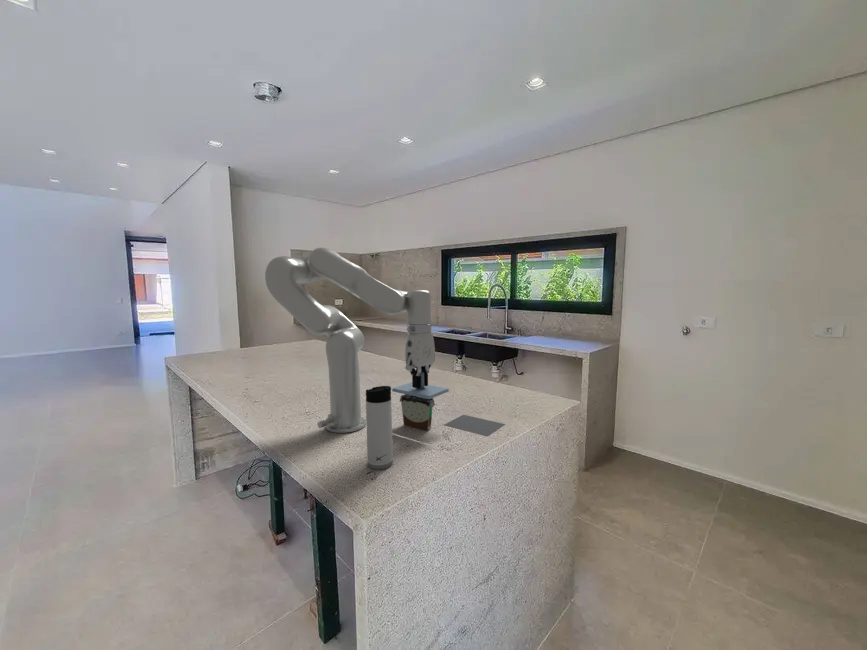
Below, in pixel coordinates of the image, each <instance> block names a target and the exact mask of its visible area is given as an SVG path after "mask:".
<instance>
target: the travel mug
mask: <svg viewBox="0 0 867 650" xmlns="http://www.w3.org/2000/svg"><path fill="white" fill-rule="evenodd" d="M391 395H392V387H391V386H389V385H380V386H379V385H378V386H374V387H372V388H370V389H366V390H365V416H366V417H365V418H366V419H365V420H366V448H367V449H366V450H367V453H366V454H367V455H366V456H367V466H368V467H369V468H370V469H373V470H377V471H379V470H380V469H381V470H385V468H386V469H388V468H390V467H391V466H392V465H393V464H394V463H393V461H394V460H393V459H394V457H393V456H394V455H393V454H394V453H393V451H394V450H393V416H392V411H393V410H392V408H393V407H392V396H391ZM381 470H380V471H381Z"/></svg>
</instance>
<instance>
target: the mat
mask: <svg viewBox="0 0 867 650" xmlns="http://www.w3.org/2000/svg"><path fill="white" fill-rule="evenodd" d="M505 425H506V423H502V422H498V421H493V420H489V419H485V418H480V417H476V416H471V415H467V414H461V415H460V416H458V417H456V418H454V419H453V420H450V421H448V422H447V423H444V424H443V426H446V427H450V428H453V429H458V430H459V431H460V430H461V431H465V432H469V433H473V434H475V435H476V434H477V435H480V436H484V437H490V436H491V435H493V434H494V433H495V432H496V431H498V430H500V429H501V428H502V427H504V426H505Z"/></svg>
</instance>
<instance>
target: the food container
mask: <svg viewBox="0 0 867 650" xmlns="http://www.w3.org/2000/svg"><path fill="white" fill-rule="evenodd" d="M399 402H400V403H401V411H402V421H403V426H407V427H410V428H415V429H419V430H424V431H427V432H428V431H430V430H431V429H432V421H433V419H432V418H433V408H434V407H435V405H436V404H435V399H434V398H431V399H426V398H421V397H416V396H412V395H407V394H402V395H400V398H399Z"/></svg>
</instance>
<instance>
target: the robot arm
mask: <svg viewBox="0 0 867 650" xmlns="http://www.w3.org/2000/svg"><path fill="white" fill-rule="evenodd" d="M264 278H265V284H266V288H267V290H268V292H269V293H270V295H271V296H272V297H273V298H274V300H275V301H276V302H277V303H278V304H279V305H281V306H282V308H284V309H285V310H286V312H288V313H289V314H290V316H292V317H293V318H294V319H295V320H296V321H297V322H298V323H300V325H301V326H303V328H305V329H306V331H308V332H309V333H310V334H312V335H314V336H323V335H325V336H326V337H327V340H326V343H325V355H326V358H327V366H328V380H329V406H330V414H327V417H326V418H325V420H323V419H322V420H321V421H318V422H317V427H318V428H319V429H321V428H326V430H327V431H328V432H332V433H336V434H345V433H351V432H352V433H353V432H356V431H359V430H361V429H363V428H364V427H366V426H367V422H366V419H365V418H364V417H362V408H361V382H360V381H361V378H360V364H359V359H358V358H359V357H358V353H360V351H361V350H362V349H363V348H364V345H365V336H364V334H363V332H362V330H360V329H359V327H357V326H356V325H355V324H354V323H353V322H352V321H351V320H350V319H349V318H348V317H347V316H346V315H344V313H342V311H341V310H339V309H338V308H337V307H334V306H333V305H328V304H321V303H320V302H318V300H316V299H315V298H314V297H313V296H312V295H311V294H310V293H309V292H308V291H306V290H305V289H304V288H302V287H301V286H300V285H304V284H308V283H313V282H317V281H321V280H325V279H326V280H327V281H330V282H331V283H333V284H335V285H336V286H338V287H340V288H342V289H343V290H345V291H347V292H349V293H350V294H351V295H353V296H355V297H357V298H358V299H359V300H361V301H362V302H365V303H366V304H368V305H369V306H371V307H373V308H375V309H376V310H378V311H379V312H383V313H384V314H387V315H390V316H391V315H392V316H394V315H397V314H403V313H406V317H407V318H406V320H407V321H406V322H407V328H406V330H407V331H406V332H407V334H406V338H405V339H406V340H405V348H404V350H405V351H404V352H405V353H404V356H405V357H404V358H405V364H406V365H405V366H404V369H405V371H407V372H409V373H410V376H411V377H412V379H411V381H412V387H413V388H418V389H420V388H421V376H420V372H423V373H424V386H428V385H429V373H430V368H431V367H432V365H433V364H435V362H436V345H435V339H434V335H433V332H432V296H431V292H430V291H429V290H425V289H413V290H409V291H408V290H400V289H394V288H392V287H391V286H388V285H387V284H385V283H383V282H381V281H380V280H378V279H376V278H375V277H373V276H371V275H370V274H369V273H368V272H367V271H366V269H364V268H362V267H361V266H359V265H357V264H356V263H353V262H351V261H350V260H348V259H346V258H345V257H343V256H341V255H340V254H339V253H338V252H336V251H335V250H332V249H329V248H326V247H317V248H314V249H313V250H312V251H311V252H310V253H309V255H308V256H306V257H302V258H296V257H292V256H284V255H282V256H276V257H274V258H272V260H270V261H269V262H268V264H267V266H266V269H265V274H264Z"/></svg>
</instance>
